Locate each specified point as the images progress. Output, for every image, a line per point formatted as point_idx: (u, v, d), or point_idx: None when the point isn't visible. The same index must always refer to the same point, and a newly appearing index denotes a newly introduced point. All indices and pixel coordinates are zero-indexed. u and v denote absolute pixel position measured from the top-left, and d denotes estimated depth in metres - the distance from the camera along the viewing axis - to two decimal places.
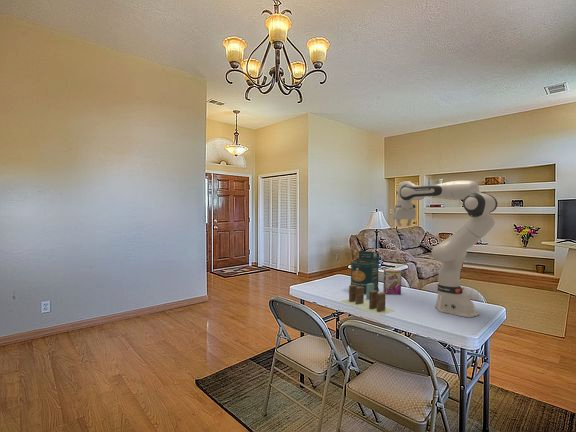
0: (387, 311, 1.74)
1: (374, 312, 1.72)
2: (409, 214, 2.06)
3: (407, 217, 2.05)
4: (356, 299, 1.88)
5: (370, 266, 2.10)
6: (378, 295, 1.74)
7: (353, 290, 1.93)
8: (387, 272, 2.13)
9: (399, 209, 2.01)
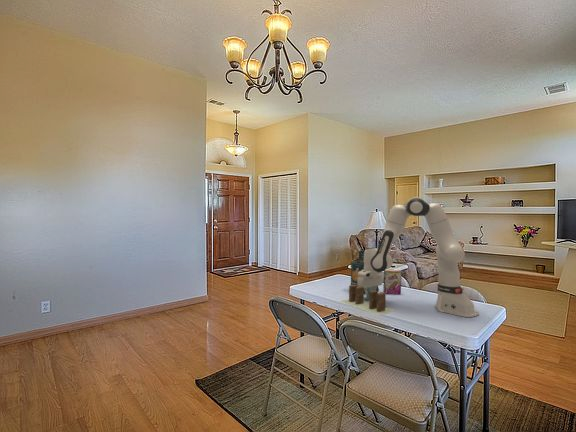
0: (387, 311, 1.74)
1: (374, 312, 1.72)
2: None
3: None
4: (356, 299, 1.88)
5: None
6: (378, 295, 1.74)
7: (353, 290, 1.93)
8: (387, 272, 2.13)
9: None
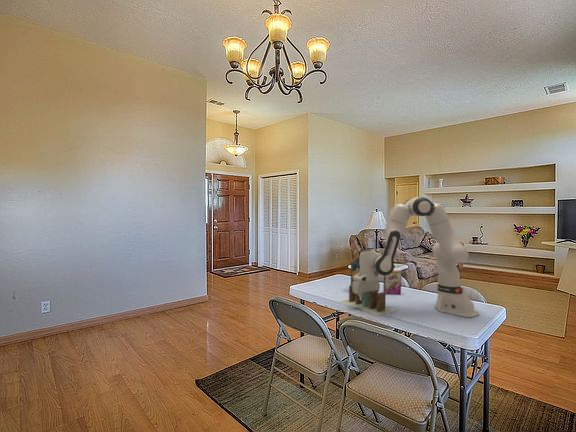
0: (387, 311, 1.74)
1: (374, 312, 1.72)
2: None
3: None
4: (356, 299, 1.88)
5: None
6: (378, 295, 1.74)
7: None
8: None
9: None
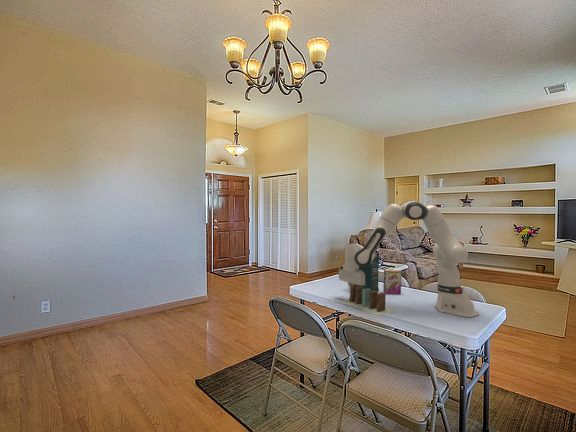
0: (387, 311, 1.74)
1: (374, 312, 1.72)
2: None
3: None
4: (356, 299, 1.88)
5: (370, 266, 2.10)
6: (378, 295, 1.74)
7: (355, 290, 1.92)
8: (387, 272, 2.13)
9: None
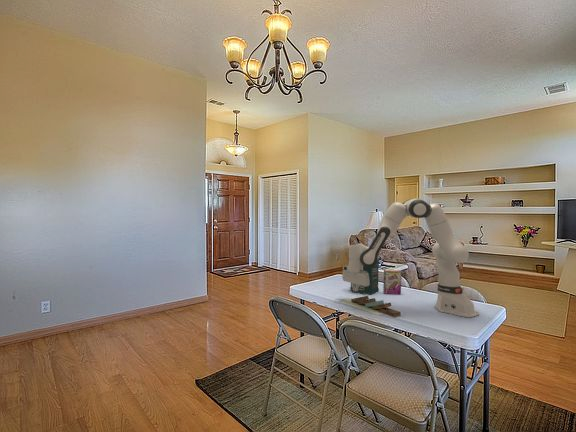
0: None
1: (374, 312, 1.72)
2: None
3: None
4: (360, 302, 1.85)
5: None
6: (393, 315, 1.66)
7: None
8: (387, 272, 2.13)
9: None
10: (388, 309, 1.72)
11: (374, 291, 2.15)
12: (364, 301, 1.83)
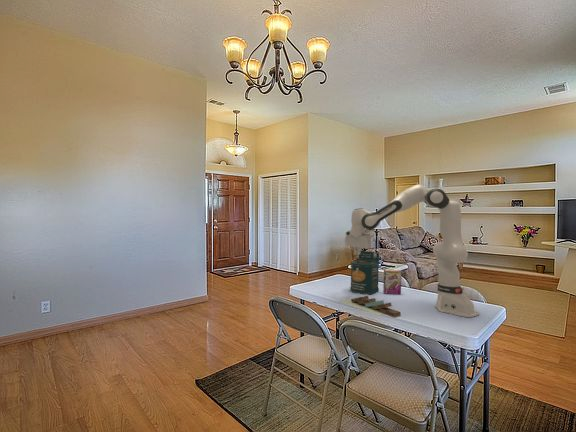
0: None
1: (374, 312, 1.72)
2: None
3: None
4: (360, 302, 1.85)
5: (370, 266, 2.10)
6: (393, 315, 1.66)
7: None
8: (387, 272, 2.13)
9: None
10: (388, 309, 1.72)
11: (374, 291, 2.15)
12: (364, 301, 1.83)
